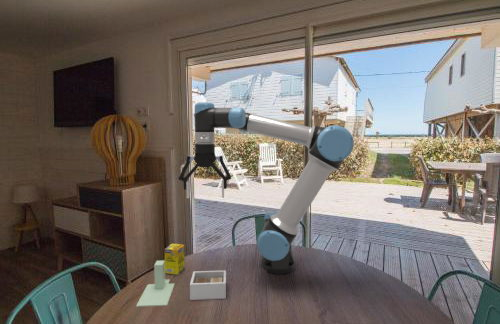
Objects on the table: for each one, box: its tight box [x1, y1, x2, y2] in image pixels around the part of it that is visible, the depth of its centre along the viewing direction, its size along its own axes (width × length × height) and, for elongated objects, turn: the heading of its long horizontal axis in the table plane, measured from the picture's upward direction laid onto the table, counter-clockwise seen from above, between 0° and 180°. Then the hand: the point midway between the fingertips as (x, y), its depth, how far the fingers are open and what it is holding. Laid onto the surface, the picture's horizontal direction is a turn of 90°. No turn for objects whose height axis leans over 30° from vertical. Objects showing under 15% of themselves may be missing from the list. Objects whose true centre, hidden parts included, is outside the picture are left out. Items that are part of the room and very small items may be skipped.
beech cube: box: [210, 278, 222, 283], centre depth 97 cm, size 4×4×4 cm
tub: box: [189, 269, 227, 301], centre depth 96 cm, size 12×9×6 cm
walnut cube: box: [196, 278, 208, 283], centre depth 96 cm, size 4×4×4 cm
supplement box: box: [164, 243, 185, 276], centre depth 111 cm, size 6×6×11 cm
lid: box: [135, 259, 176, 309], centre depth 96 cm, size 16×10×10 cm, turn 4°
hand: (205, 197), depth 107 cm, fingers open, 13 cm apart
